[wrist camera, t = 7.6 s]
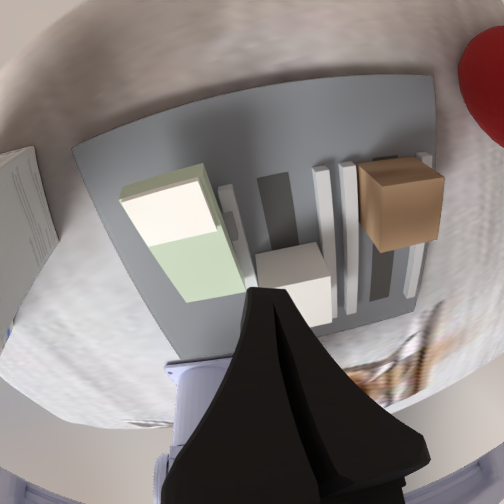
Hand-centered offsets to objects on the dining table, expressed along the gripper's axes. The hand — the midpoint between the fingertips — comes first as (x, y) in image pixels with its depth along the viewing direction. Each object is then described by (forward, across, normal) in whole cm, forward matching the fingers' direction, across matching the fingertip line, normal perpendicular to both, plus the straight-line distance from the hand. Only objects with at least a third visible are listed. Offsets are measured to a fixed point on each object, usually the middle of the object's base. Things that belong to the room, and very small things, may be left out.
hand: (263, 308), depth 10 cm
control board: (+10, -3, +3) cm, 10 cm away
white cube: (+8, -3, +4) cm, 10 cm away
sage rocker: (+6, +3, +2) cm, 7 cm away
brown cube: (+8, -8, -2) cm, 12 cm away
